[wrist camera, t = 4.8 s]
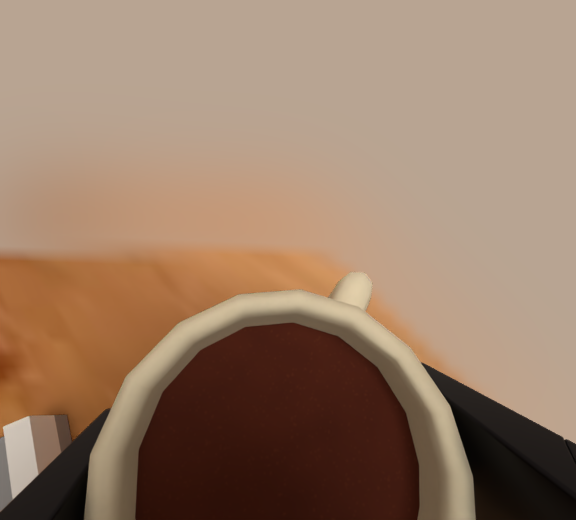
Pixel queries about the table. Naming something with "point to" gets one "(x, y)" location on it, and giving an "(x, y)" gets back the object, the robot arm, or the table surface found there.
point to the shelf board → (29, 451)
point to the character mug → (281, 420)
